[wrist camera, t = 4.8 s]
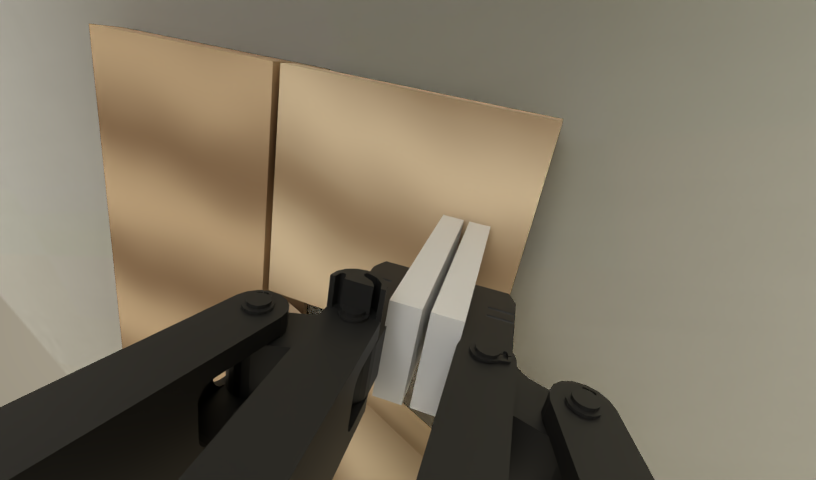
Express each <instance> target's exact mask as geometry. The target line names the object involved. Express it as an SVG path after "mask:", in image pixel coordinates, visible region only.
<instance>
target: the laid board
mask: <svg viewBox="0 0 816 480" xmlns="http://www.w3.org/2000/svg"><path fill="white" fill-rule="evenodd" d="M89 30H90V40H91V49H92V59H93V68H94V78H95V88H96V97H97V107H98V117H99V126H100V136H101V145H102V155H103V165H104V174H105V184H106V194H107V203H108V213H109V222H110V232H111V242H112V251H113V261H114V271H115V280H116V290H117V299H118V309H119V319H120V328H121V338H122V348H123V349H124V348H126V347H128V346H130V345H132V344H134V343H136V342H138V341H140V340H142V339H145V338H147V337H149V336H151V335H153V334H155V333H157V332H159V331H161V330H163V329H165V328H168V327H170V326H172V325H174V324H176V323H178V322H180V321H182V320H184V319H186V318H189V317H191V316H193V315H195V314H197V313H199V312H201V311H203V310H205V309H207V308H210V307H212V306H214V305H216V304H218V303H220V302H222V301H224V300H226V299H228V298H230V297H233V296H235V295H237V294H240V293H243V292H246V291H253V290H264V291H265V290H267V291H270V290H268V289H269V270H270V251H271V232H272V214H273V195H274V176H275V158H276V139H277V120H278V101H279V83H280V64H281V63H294V64H301V63H296V62H291V61H286V60H281V59H276V58H271V57H266V56H261V55H256V54H252V53H247V52H242V51H237V50H232V49H227V48H222V47H217V46H212V45H207V44H202V43H197V42H192V41H187V40H182V39H177V38H172V37H167V36H162V35H158V34H153V33H148V32H143V31H138V30H133V29H128V28H123V27H114V26H105V25H96V24H89ZM301 65H306V64H301ZM306 66H311V65H306ZM311 67H315V68H320V69H325V70H330V69H326V68H321V67H316V66H311ZM271 292H273V291H271ZM275 293H276V292H275ZM278 294H279V293H278ZM280 295H281V294H280ZM282 296H283V297H284V298H286V299H287V301H288V302H289V303H290V304H291V305H292V306H294V307H295V308H296V309H297V310H298V311H299V312H300V313H301V314H306V313H307V303H304V302H302V301H299V300H296V299H293V298H290V297H287V296H284V295H282ZM224 376H226V371H225V372H223V373H222V374H220V375H219V376H217V377H216V378H214V379H213V381H214V382H215V381H218V380H220V379H221V378H223V377H224Z"/></svg>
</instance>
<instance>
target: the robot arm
mask: <svg viewBox="0 0 816 480" xmlns="http://www.w3.org/2000/svg"><path fill="white" fill-rule="evenodd" d="M463 222H464V220H462V219H458V218H454V217H450V216H446V215H443V216H442V218H441V219H440V221H439V222H438V224H437V225H436V227H435V229H434V230H433V232H432V233H431V235H430V237H429V238H428V240H427V241H426V243H425V244H424V246H423V248H422V249H421V251H420V252H419V254H418V256H417V257H416V259H415V260H414V262H413V263H412V265H411V267H410V268H409V267H406V266H402V265H398V264H395V263H391V262H388V261H385V262H383V263H380V264H378V265H375V266H374V267H373V268H372V269H371V270H370V271H368V270H362V269H342V270H338V271H336V272H334V273H332V274H331V275H330V282H329V290H328V299H327V306H326V307H325V309H324V310H323V311H322V312H321V313H320V314H300V313H289V303H288V301H287V299H286V298H284V297H283V296H282V295H280V294H278V293H275V292H271V291H267V290H265V291H264V290H253V291H246V292H243V293H240V294H237V295H235V296H233V297H230V298H228V299H226V300H224V301H222V302H220V303H218V304H216V305H214V306H212V307H210V308H207V309H205V310H203V311H201V312H199V313H197V314H195V315H193V316H191V317H189V318H186V319H184V320H182V321H180V322H178V323H176V324H174V325H172V326H170V327H168V328H165V329H163V330H161V331H159V332H157V333H155V334H153V335H151V336H149V337H147V338H145V339H142V340H140V341H138V342H136V343H134V344H132V345H130V346H128V347H126V348H124V349H121V350H119V351H117V352H115V353H113V354H111V355H109V356H107V357H105V358H103V359H101V360H98V361H96V362H94V363H92V364H90V365H88V366H86V367H84V368H82V369H80V370H77V371H75V372H73V373H71V374H69V375H67V376H65V377H63V378H61V379H59V380H57V381H54V382H52V383H50V384H48V385H46V386H44V387H42V388H40V389H38V390H36V391H34V392H31V393H29V394H27V395H25V396H23V397H21V398H19V399H17V400H15V401H12V402H11V403H8V404H6V405H4V406H2V407H0V480H332V479H333V477H334V475H335V473H336V471H337V469H338V467H339V465H340V462H341V460H342V458H343V456H344V454H345V452H346V450H347V448H348V446H349V443H350V441H351V439H352V437H353V435H354V433H355V431H356V429H357V427H358V424H359V422H360V420H361V418H362V416H363V414H364V412H365V409H366V403H367V398H368V393H369V391H370V389H371V387H372V385H373V383H374V388H373V393H372V396H375V397H378V398H381V399H384V400H387V401H390V402H393V403H396V404H399V405H402V403H403V400H404V398H405V395H406V393H407V390H408V388H409V385H410V383H411V380H412V377H413V375H414V372H415V370H416V367H417V365H418V362H419V360H420V363H419V367H418V372H417V376H416V381H415V385H414V389H413V394H412V398H411V403H410V407H409V408H411V409H414V410H417V411H420V412H423V413H426V414H429V415H432V416H435V419H434V422H433V425H432V429H431V432H430V435H429V439H428V442H427V445H426V449H425V452H424V455H423V459H422V462H421V465H420V469H419V472H418V475H417V479H416V480H654V478H653V476H652V474H651V473H650V471H649V469H648V467H647V465H646V463H645V462H644V460H643V458H642V456H641V454H640V452H639V451H638V449H637V447H636V445H635V443H634V441H633V440H632V438H631V436H630V434H629V432H628V430H627V429H626V427H625V425H624V423H623V421H622V419H621V417H620V416H619V414H618V412H617V410H616V409H615V408H614V406H613V405H612V404H611V402H610V401H609V400H608V399H607V398H605V397H604V396H603V395H602V394H600V393H599V392H598V391H596V390H594V389H592V388H590V387H588V386H586V385H583V384H580V383H576V382H573V381H561V382H558V383H556V384H553V386H552V387H551V389H550V390H548V389H546V388H544V387H542V386H541V385H539V384H537V383H535V382H534V381H532V380H530V379H529V378H527V377H526V376H525V375H524V374H523V373H522V372H521V371H520V370H519V369H518V368H517V362H516V358H515V355H514V354H513V353H512V351H513V336H514V321H515V306H516V304H515V303H514V301H513V299H512V298H511V296H510V295H509V294H508V293H504V292H501V291H497V290H493V289H490V288H486V287H483V286H479V285H475V284H476V280H477V276H478V273H479V269H480V265H481V261H482V257H483V254H484V250H485V246H486V242H487V239H488V235H489V231H490V226H486V225H482V224H478V223H474V222H470V221H469V224H468V226H467V228H466V231H465V233H464V236H463V238H462V240H461V243H460V245H459V247H458V243H459V239H460V235H461V231H462V226H463ZM457 247H458V250H457ZM456 251H457V252H456ZM420 357H421V359H420ZM225 371H226V376H224V377H223V378H221V379H220V380H218V381H215V382H214V381H213V379H214V378H216V377H217V376H219V375H220V374H222V373H223V372H225ZM374 381H375V382H374Z"/></svg>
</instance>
